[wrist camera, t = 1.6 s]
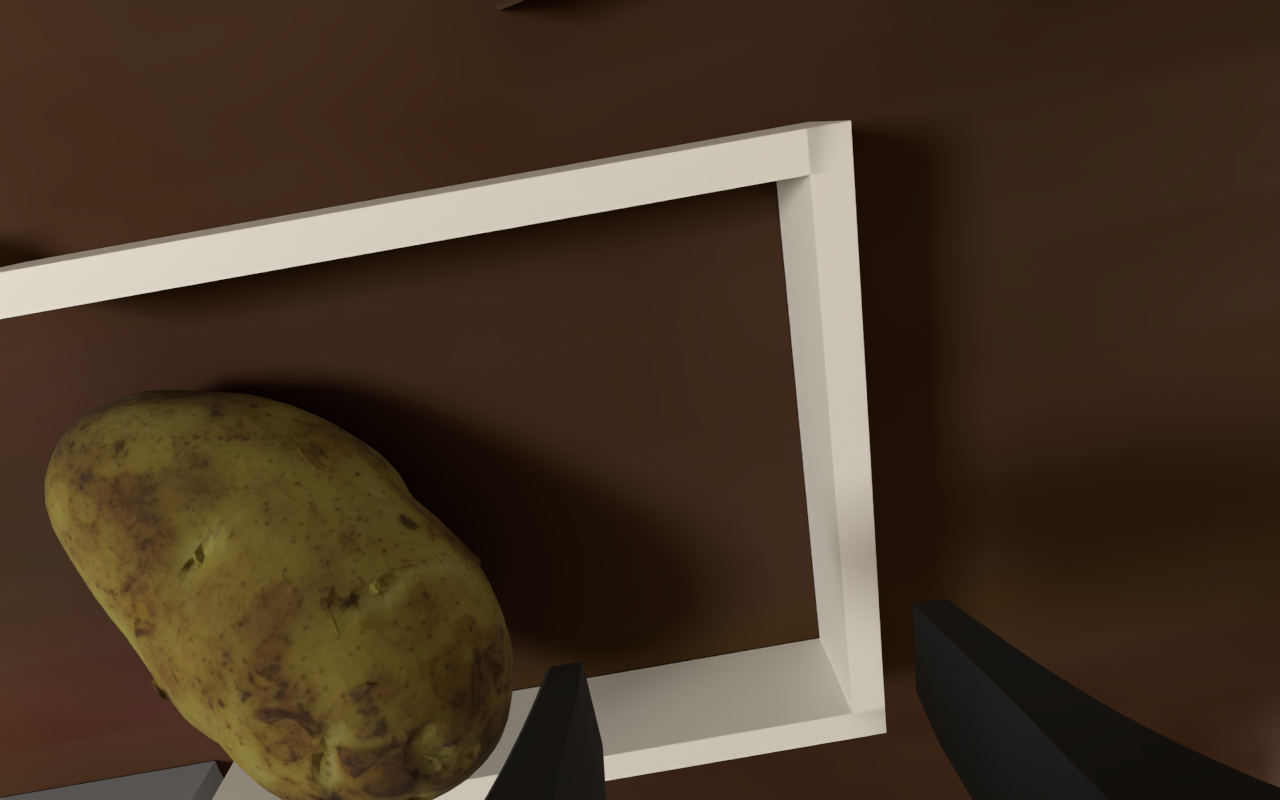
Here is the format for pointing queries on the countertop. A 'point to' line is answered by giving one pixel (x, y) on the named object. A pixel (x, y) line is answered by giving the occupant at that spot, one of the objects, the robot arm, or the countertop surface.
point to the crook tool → (505, 3)
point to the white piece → (826, 396)
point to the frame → (142, 786)
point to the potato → (286, 593)
